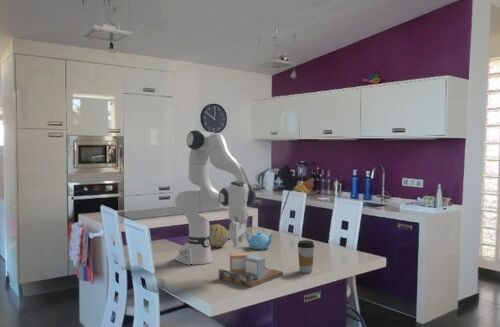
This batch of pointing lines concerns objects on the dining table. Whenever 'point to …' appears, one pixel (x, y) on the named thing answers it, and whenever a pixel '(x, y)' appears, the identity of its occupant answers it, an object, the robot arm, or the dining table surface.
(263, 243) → the teapot
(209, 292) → the dining table surface
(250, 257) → the slate-blue carton
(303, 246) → the coffee cup
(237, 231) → the robot arm
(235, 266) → the terracotta carton
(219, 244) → the cantaloupe
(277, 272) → the shelf plank
